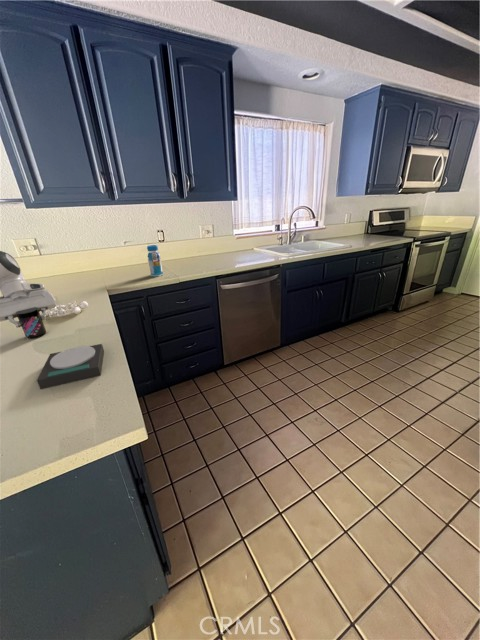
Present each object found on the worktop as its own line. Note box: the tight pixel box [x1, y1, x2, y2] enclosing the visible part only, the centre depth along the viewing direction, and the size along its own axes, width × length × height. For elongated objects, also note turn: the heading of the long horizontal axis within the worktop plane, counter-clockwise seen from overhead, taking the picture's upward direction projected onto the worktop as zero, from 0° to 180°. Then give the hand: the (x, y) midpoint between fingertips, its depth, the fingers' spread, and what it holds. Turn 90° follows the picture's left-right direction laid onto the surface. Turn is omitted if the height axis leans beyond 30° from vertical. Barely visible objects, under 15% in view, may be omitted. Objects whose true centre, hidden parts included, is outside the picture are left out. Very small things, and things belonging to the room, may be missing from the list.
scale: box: [36, 343, 105, 390], centre depth 80 cm, size 15×15×4 cm
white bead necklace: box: [40, 300, 89, 318], centre depth 123 cm, size 19×14×4 cm
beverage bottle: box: [146, 244, 164, 277], centre depth 180 cm, size 8×8×20 cm
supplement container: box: [16, 307, 47, 340], centre depth 101 cm, size 7×7×10 cm
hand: (32, 322), depth 100 cm, fingers closed on supplement container, 6 cm apart
